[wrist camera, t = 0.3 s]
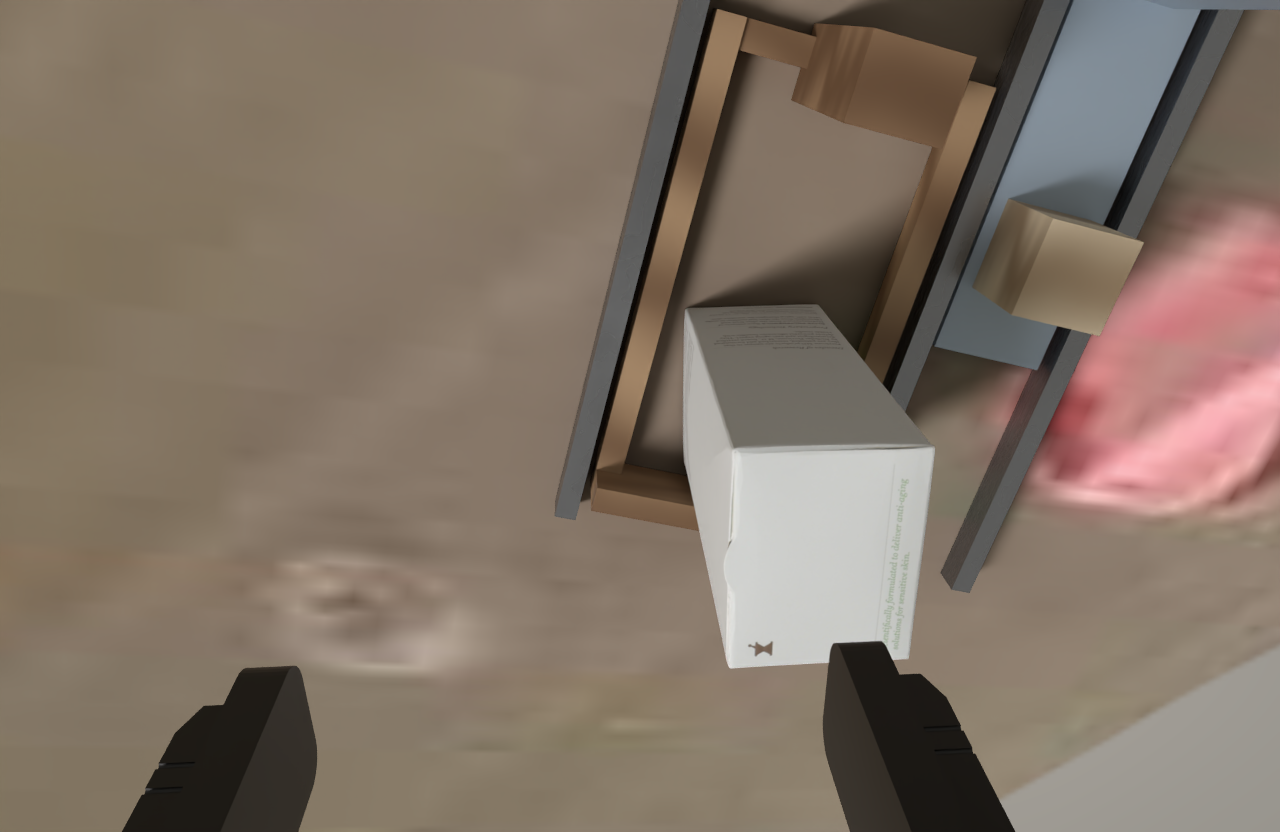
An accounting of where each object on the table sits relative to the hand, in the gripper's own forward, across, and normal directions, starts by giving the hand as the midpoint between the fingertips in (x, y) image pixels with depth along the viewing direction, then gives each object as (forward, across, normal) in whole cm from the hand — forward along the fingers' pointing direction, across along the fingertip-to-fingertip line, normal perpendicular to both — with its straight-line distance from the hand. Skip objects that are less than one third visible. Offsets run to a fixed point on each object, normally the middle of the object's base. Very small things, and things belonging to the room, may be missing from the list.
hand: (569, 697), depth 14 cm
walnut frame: (+28, -9, +3) cm, 30 cm away
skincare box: (+28, -8, +7) cm, 30 cm away
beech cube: (+27, -20, +1) cm, 34 cm away
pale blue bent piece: (+28, -21, -3) cm, 35 cm away
